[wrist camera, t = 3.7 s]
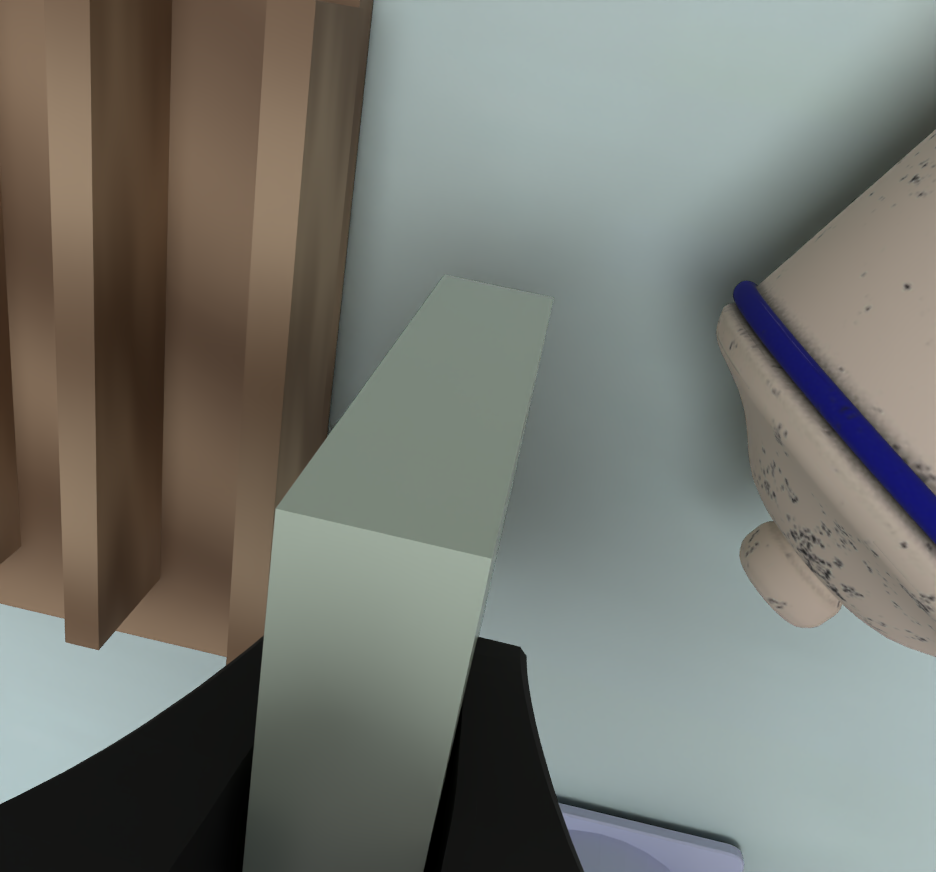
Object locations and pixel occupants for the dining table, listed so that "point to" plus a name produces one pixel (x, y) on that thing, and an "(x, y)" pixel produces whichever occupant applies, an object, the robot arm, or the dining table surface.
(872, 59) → the dining table surface
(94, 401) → the walnut rack
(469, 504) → the upright gray panel
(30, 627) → the dining table surface
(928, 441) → the beige mug
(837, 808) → the dining table surface
